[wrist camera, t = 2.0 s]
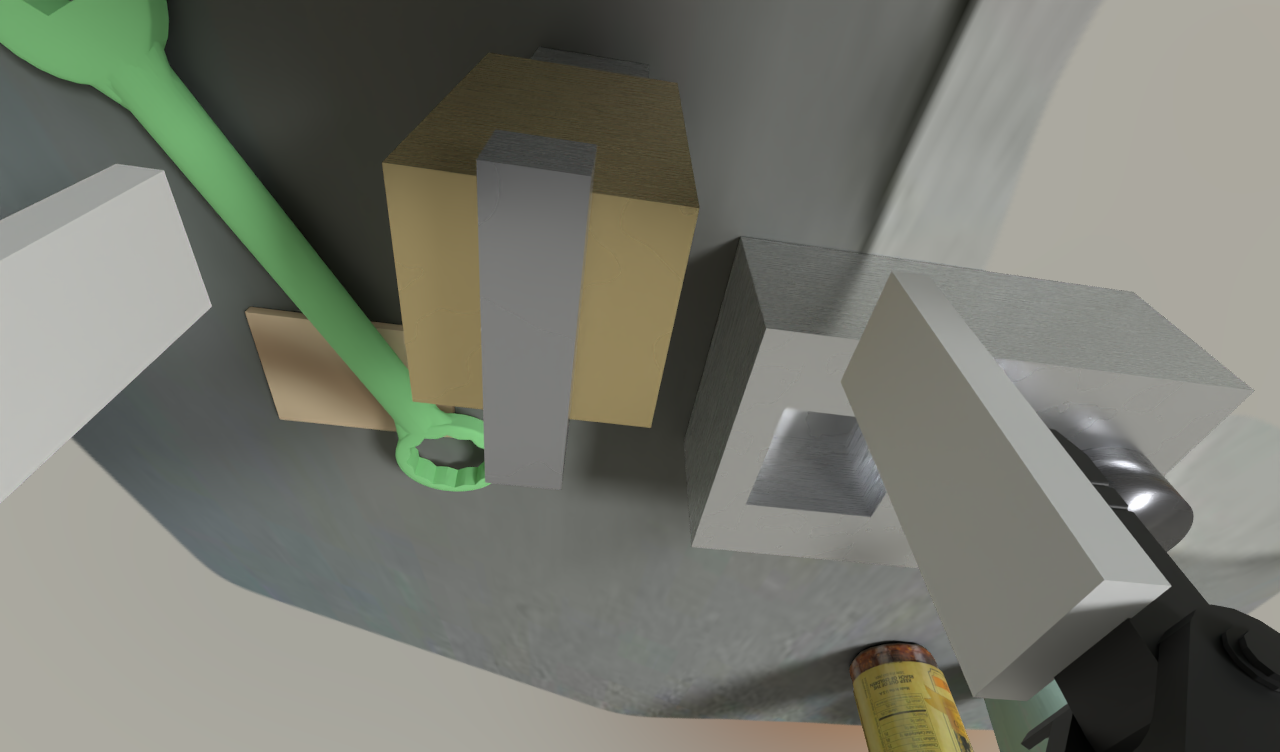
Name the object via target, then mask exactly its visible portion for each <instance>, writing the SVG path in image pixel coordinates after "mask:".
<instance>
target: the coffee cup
mask: <svg viewBox="0 0 1280 752" xmlns="http://www.w3.org/2000/svg"><path fill="white" fill-rule="evenodd" d="M984 700H985V704H986V707H987V710H988V714H989V717H990V720H991V723H992V727H993V730H994V733H995V736H996V740H997V743H998V746H999V749H1000V752H1046V748H1047V744H1048V739H1049V738H1046V739H1044V740H1043V741H1041V742H1040V743H1039V744H1037V745H1036V746H1034V747H1033V748H1031V749H1030V750H1028V749H1027V748H1026V747H1024V746H1023V745H1022V744H1021V742H1022V741H1023V739H1024V738H1025V736H1026V735H1027V733H1028V732H1029V731H1031V730H1032V729H1033V728H1035V727H1036V726H1037V725H1039V724H1040V723H1042V722H1043V721H1044V720H1046V719H1047V718H1048V717H1050V716H1051V715H1052V714H1054V713H1055V712H1057V711H1058V710H1059V709H1061V708H1062V707H1063V706H1065V705H1066V704H1067V701H1066V699H1065V698H1064V696H1063V694H1062V692H1061V690H1060V688H1059V686H1058V684H1057V683H1056V681H1055V679H1054V680H1053V681H1052V682H1051V683H1049V684H1048V685H1047V686H1046V687H1044V688H1043V689H1042V690H1041V691H1039V692H1038V693H1037V694H1036V695H1034V696H1033V697H1032V698H1030V699H1029V700H1028V701H1018V700H1004V699H990V698H984Z"/></svg>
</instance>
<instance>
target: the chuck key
mask: <svg viewBox="0 0 1280 752" xmlns="http://www.w3.org/2000/svg"><path fill="white" fill-rule="evenodd" d="M382 167H383V174H384V182H385V190H386V198H387V206H388V213H389V221H390V229H391V237H392V245H393V252H394V260H395V268H396V276H397V284H398V291H399V299H400V307H401V315H402V323H403V330H404V338H405V346H406V354H407V362H408V369H409V377H410V385H411V393H412V401H413V402H420V403H429V404H439V405H448V406H457V407H466V408H475V409H483V424H484V460H485V483H494V484H504V485H515V486H525V487H535V488H545V489H555V490H561V486H562V479H563V472H564V464H565V457H566V450H567V442H568V432H569V422H570V419H575V420H584V421H593V422H602V423H611V424H621V425H630V426H639V427H648V428H651V424H652V420H653V415H654V411H655V406H656V402H657V397H658V393H659V388H660V384H661V379H662V375H663V370H664V366H665V361H666V357H667V352H668V348H669V343H670V339H671V334H672V330H673V325H674V321H675V316H676V312H677V307H678V303H679V298H680V294H681V289H682V285H683V280H684V275H685V271H686V266H687V262H688V257H689V253H690V248H691V244H692V239H693V235H694V230H695V226H696V221H697V217H698V212H699V203H698V198H697V192H696V186H695V181H694V175H693V169H692V164H691V158H690V152H689V147H688V141H687V135H686V130H685V124H684V118H683V113H682V107H681V101H680V96H679V90H678V84H677V83H674V82H667V81H661V80H655V79H649V68H648V65H646V64H640V63H634V62H628V61H622V60H616V59H610V58H604V57H598V56H592V55H586V54H580V53H574V52H568V51H561V50H555V49H549V48H543V47H538V49H537V50H536V52H535V53H534V55H533V56H532V57H531V59H526V58H520V57H514V56H508V55H502V54H496V53H488V54H487V55H486V56H485V57H484V58H483V59H482V60H481V61H480V62H479V63H478V64H477V65H476V66H475V67H474V68H473V69H472V70H471V71H470V72H469V74H468V75H467V76H466V77H465V78H464V79H463V80H462V81H461V82H460V83H459V84H458V85H457V86H456V87H455V88H454V89H453V90H452V91H451V92H450V93H449V94H448V95H447V96H446V97H445V98H444V99H443V100H442V101H441V102H440V103H439V104H438V105H437V106H436V107H435V108H434V110H433V111H432V112H431V113H430V114H429V115H428V116H427V117H426V118H425V119H424V120H423V121H422V122H421V123H420V124H419V125H418V126H417V127H416V128H415V129H414V130H413V131H412V132H411V133H410V134H409V135H408V136H407V137H406V138H405V139H404V140H403V141H402V142H401V143H400V144H399V145H398V147H397V148H396V149H395V150H394V151H393V152H392V153H391V154H390V155H389V156H388V157H387V158H386V159H385V160H384V161H383V162H382Z"/></svg>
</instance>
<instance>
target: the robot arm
mask: <svg viewBox="0 0 1280 752" xmlns="http://www.w3.org/2000/svg"><path fill="white" fill-rule="evenodd" d="M211 307H212V305H211V302H210V300H209V297H208V294H207V291H206V288H205V285H204V283H203V280H202V277H201V274H200V271H199V268H198V266H197V263H196V260H195V257H194V254H193V251H192V249H191V246H190V243H189V240H188V237H187V234H186V232H185V229H184V226H183V223H182V220H181V217H180V215H179V212H178V209H177V206H176V203H175V200H174V198H173V195H172V192H171V189H170V186H169V183H168V181H167V178H166V175H165V172H164V170H158V169H150V168H143V167H136V166H129V165H122V164H115V165H113V166H111V167H109V168H107V169H104V170H102V171H100V172H98V173H96V174H94V175H92V176H90V177H88V178H86V179H84V180H82V181H80V182H78V183H76V184H74V185H72V186H70V187H68V188H66V189H64V190H62V191H60V192H57V193H55V194H53V195H51V196H49V197H47V198H45V199H43V200H41V201H39V202H37V203H35V204H33V205H31V206H29V207H27V208H25V209H23V210H21V211H19V212H17V213H15V214H13V215H10V216H8V217H6V218H4V219H2V220H0V503H2V501H4V500H5V499H6V498H7V497H8V496H9V495H10V494H11V493H12V492H13V491H14V490H15V489H16V488H18V487H19V486H20V485H21V484H22V483H23V482H24V481H25V480H26V479H27V478H28V477H29V476H31V475H32V474H33V473H34V472H35V471H36V470H37V469H38V468H39V467H40V466H41V465H42V464H43V463H44V462H46V461H47V460H48V459H49V458H50V457H51V456H52V455H53V454H54V453H55V452H56V451H57V450H58V449H59V448H61V447H62V446H63V445H64V444H65V443H66V442H67V441H68V440H69V439H70V438H71V437H72V436H73V435H75V434H76V433H77V432H78V431H79V430H80V429H81V428H82V427H83V426H84V425H85V424H86V423H87V422H89V421H90V420H91V419H92V418H93V417H94V416H95V415H96V414H97V413H98V412H99V411H100V410H101V409H102V408H104V407H105V406H106V405H107V404H108V403H109V402H110V401H111V400H112V399H113V398H114V397H115V396H116V395H118V394H119V393H120V392H121V391H122V390H123V389H124V388H125V387H126V386H127V385H128V384H129V383H130V382H131V381H133V380H134V379H135V378H136V377H137V376H138V375H139V374H140V373H141V372H142V371H143V370H144V369H145V368H147V367H148V366H149V365H150V364H151V363H152V362H153V361H154V360H155V359H156V358H157V357H158V356H159V355H160V354H162V353H163V352H164V351H165V350H166V349H167V348H168V347H169V346H170V345H171V344H172V343H173V342H174V341H175V340H177V339H178V338H179V337H180V336H181V335H182V334H183V333H184V332H185V331H186V330H187V329H188V328H189V327H191V326H192V325H193V324H194V323H195V322H196V321H197V320H198V319H199V318H200V317H201V316H202V315H203V314H204V313H206V312H207V311H208V310H209V309H210V308H211ZM841 384H842V386H843V389H844V391H845V394H846V396H847V398H848V401H849V403H850V405H851V408H852V410H853V413H854V415H855V417H856V420H857V422H858V424H859V427H860V429H861V432H862V434H863V436H864V439H865V441H866V443H867V446H868V448H869V451H870V453H871V455H872V458H873V460H874V462H875V465H876V467H877V470H878V472H879V474H880V477H881V479H882V482H883V484H884V486H885V489H886V491H887V493H888V496H889V498H890V501H891V503H892V505H893V508H894V510H895V512H896V515H897V517H898V520H899V522H900V524H901V527H902V529H903V531H904V534H905V536H906V539H907V541H908V543H909V546H910V548H911V550H912V553H913V555H914V558H915V560H916V562H917V565H918V567H919V570H920V572H921V574H922V577H923V579H924V581H925V584H926V586H927V589H928V591H929V593H930V596H931V598H932V600H933V603H934V605H935V608H936V610H937V612H938V615H939V617H940V619H941V622H942V624H943V627H944V629H945V631H946V634H947V636H948V638H949V641H950V643H951V646H952V648H953V650H954V653H955V655H956V658H957V660H958V662H959V665H960V667H961V669H962V672H963V674H964V677H965V679H966V681H967V684H968V686H969V688H970V691H971V693H972V696H973V697H975V698H990V699H1004V700H1018V701H1028V700H1029V699H1030V698H1032V697H1033V696H1034V695H1036V694H1037V693H1038V692H1039V691H1041V690H1042V689H1043V688H1044V687H1046V686H1047V685H1048V684H1049V683H1051V682H1052V681H1053V680H1054V679H1055V681H1056V683H1057V684H1058V686H1059V688H1060V690H1061V692H1062V694H1063V696H1064V698H1065V699H1066V701H1067V704H1066V705H1065V706H1063V707H1062V708H1061V709H1059V710H1058V711H1057V712H1055V713H1054V714H1052V715H1051V716H1050V717H1048V718H1047V719H1046V720H1044V721H1043V722H1042V723H1040V724H1039V725H1037V726H1036V727H1035V728H1033V729H1032V730H1031V731H1029V732H1028V733H1027V735H1026V736H1025V738H1024V739H1023V741H1022V742H1021V744H1022V745H1023V746H1024V747H1026V748H1027V749H1028V750H1030V749H1031V748H1033V747H1034V746H1036V745H1037V744H1039V743H1040V742H1041V741H1043V740H1044V739H1046V738H1049V739H1048V744H1047V748H1046V752H1280V633H1278V632H1277V631H1275V630H1274V629H1272V628H1271V627H1269V626H1268V625H1266V624H1265V623H1263V622H1261V621H1260V620H1258V619H1255V618H1253V617H1251V616H1249V615H1246V614H1244V613H1242V612H1240V611H1237V610H1235V609H1232V608H1227V607H1221V606H1216V605H1209V604H1208V603H1207V602H1206V600H1205V599H1204V598H1203V597H1202V595H1201V594H1200V593H1199V592H1198V591H1197V589H1196V588H1195V587H1194V586H1193V584H1192V583H1191V582H1190V581H1189V580H1188V578H1187V577H1186V576H1185V575H1184V573H1183V572H1182V571H1181V570H1180V568H1179V567H1178V566H1177V565H1176V564H1175V562H1174V561H1173V560H1172V559H1171V557H1170V556H1169V555H1168V554H1167V552H1166V551H1165V550H1164V549H1163V548H1162V546H1161V545H1160V544H1159V543H1158V541H1157V540H1156V539H1155V538H1154V537H1153V535H1152V534H1151V533H1150V532H1149V530H1148V529H1147V528H1146V527H1145V525H1144V524H1143V523H1142V522H1141V521H1140V519H1139V518H1138V517H1137V516H1136V514H1135V513H1134V512H1131V511H1128V505H1127V503H1126V502H1125V501H1124V500H1123V498H1122V497H1121V496H1120V495H1119V494H1118V492H1117V491H1116V490H1115V489H1114V488H1109V481H1108V480H1107V479H1106V478H1105V476H1104V475H1103V474H1102V473H1101V471H1100V470H1099V469H1098V468H1097V467H1096V465H1095V464H1094V463H1093V462H1092V460H1091V459H1090V458H1089V457H1088V455H1087V454H1085V453H1084V452H1083V451H1082V450H1080V449H1079V448H1078V447H1077V446H1075V445H1074V444H1073V443H1072V442H1070V441H1069V440H1068V439H1067V438H1065V437H1064V436H1063V435H1062V434H1060V433H1059V432H1058V431H1057V430H1055V429H1048V427H1047V426H1046V425H1045V423H1044V422H1043V421H1042V420H1041V418H1040V417H1039V416H1038V414H1037V413H1036V412H1035V411H1034V409H1033V408H1032V407H1031V405H1030V404H1029V403H1028V402H1027V400H1026V399H1025V398H1024V397H1023V395H1022V394H1021V393H1020V391H1019V390H1018V389H1017V388H1016V386H1015V385H1014V384H1013V382H1012V381H1011V380H1010V379H1009V377H1008V376H1007V375H1006V373H1005V372H1004V371H1003V370H1002V368H1001V367H1000V366H999V365H998V363H997V362H996V361H995V359H994V358H993V357H992V356H991V354H990V353H989V352H988V350H987V349H986V348H985V347H984V345H983V344H982V343H981V342H980V340H979V339H978V338H977V336H976V335H975V334H974V333H973V331H972V330H971V329H970V327H969V326H968V325H967V324H966V322H965V321H964V320H963V318H962V317H961V316H960V315H959V313H958V312H957V311H956V310H955V308H954V307H953V306H952V304H951V303H950V302H949V301H948V299H947V298H946V297H945V295H944V294H943V293H942V292H941V290H940V289H939V288H938V286H937V285H936V284H935V283H934V281H933V280H932V279H931V278H930V276H925V275H918V274H911V273H903V272H896V271H891V273H890V275H889V278H888V280H887V282H886V284H885V286H884V288H883V291H882V293H881V295H880V297H879V299H878V301H877V304H876V306H875V308H874V310H873V312H872V314H871V317H870V319H869V321H868V323H867V325H866V327H865V330H864V332H863V334H862V336H861V338H860V340H859V343H858V345H857V347H856V349H855V351H854V353H853V356H852V358H851V360H850V362H849V364H848V366H847V369H846V371H845V373H844V375H843V377H842V379H841Z"/></svg>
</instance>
